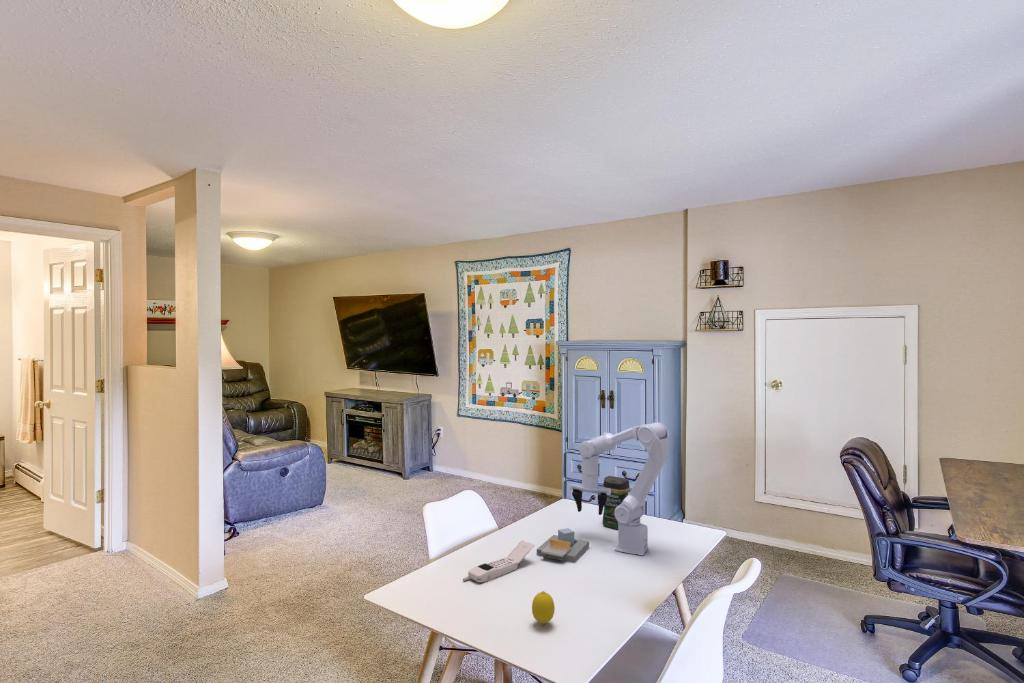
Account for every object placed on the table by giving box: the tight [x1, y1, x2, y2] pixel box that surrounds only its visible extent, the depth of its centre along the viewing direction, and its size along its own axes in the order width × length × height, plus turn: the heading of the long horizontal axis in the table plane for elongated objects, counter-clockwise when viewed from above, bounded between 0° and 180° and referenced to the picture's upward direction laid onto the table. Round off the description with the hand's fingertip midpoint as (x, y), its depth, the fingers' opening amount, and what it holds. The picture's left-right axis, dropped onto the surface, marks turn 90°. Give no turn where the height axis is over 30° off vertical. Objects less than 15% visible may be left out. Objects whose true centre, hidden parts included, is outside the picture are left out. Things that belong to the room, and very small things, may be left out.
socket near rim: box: [572, 541, 589, 555], centre depth 176 cm, size 4×6×2 cm, turn 154°
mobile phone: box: [462, 540, 535, 583], centre depth 160 cm, size 6×6×25 cm
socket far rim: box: [545, 535, 558, 543], centre depth 180 cm, size 4×6×2 cm, turn 154°
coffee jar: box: [602, 475, 631, 530], centre depth 200 cm, size 10×8×19 cm
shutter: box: [541, 539, 572, 557], centre depth 170 cm, size 8×8×2 cm
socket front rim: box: [552, 534, 590, 548], centre depth 182 cm, size 13×2×2 cm, turn 64°
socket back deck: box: [536, 541, 583, 564], centre depth 172 cm, size 13×7×2 cm, turn 64°
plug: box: [557, 527, 576, 547], centre depth 178 cm, size 4×4×6 cm
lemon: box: [531, 590, 555, 626], centre depth 130 cm, size 6×6×8 cm
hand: (590, 512), depth 188 cm, fingers open, 7 cm apart
